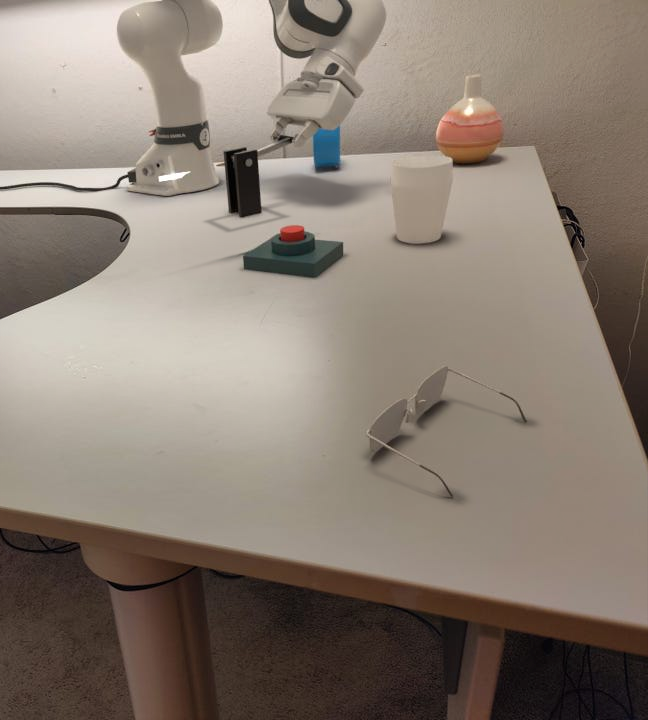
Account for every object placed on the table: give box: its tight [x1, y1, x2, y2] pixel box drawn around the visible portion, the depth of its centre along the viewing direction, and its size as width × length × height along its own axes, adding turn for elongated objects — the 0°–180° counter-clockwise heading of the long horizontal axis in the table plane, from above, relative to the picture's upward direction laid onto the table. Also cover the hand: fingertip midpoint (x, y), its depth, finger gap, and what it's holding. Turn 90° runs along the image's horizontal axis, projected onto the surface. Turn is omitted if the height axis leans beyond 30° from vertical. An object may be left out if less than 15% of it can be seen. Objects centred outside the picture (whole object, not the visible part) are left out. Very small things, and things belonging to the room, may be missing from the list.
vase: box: [435, 74, 505, 165], centre depth 144 cm, size 14×14×18 cm
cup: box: [390, 154, 454, 245], centre depth 103 cm, size 9×9×12 cm
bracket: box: [223, 146, 262, 219], centre depth 124 cm, size 12×9×13 cm
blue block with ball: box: [312, 125, 341, 170], centre depth 155 cm, size 13×6×15 cm, turn 168°
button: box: [279, 224, 305, 242], centre depth 101 cm, size 4×4×2 cm
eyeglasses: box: [365, 365, 528, 498], centre depth 57 cm, size 14×8×4 cm, turn 133°
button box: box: [242, 230, 344, 278], centre depth 102 cm, size 12×10×4 cm
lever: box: [230, 134, 294, 169], centre depth 123 cm, size 13×6×2 cm, turn 115°
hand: (284, 143), depth 124 cm, fingers closed on lever, 6 cm apart
